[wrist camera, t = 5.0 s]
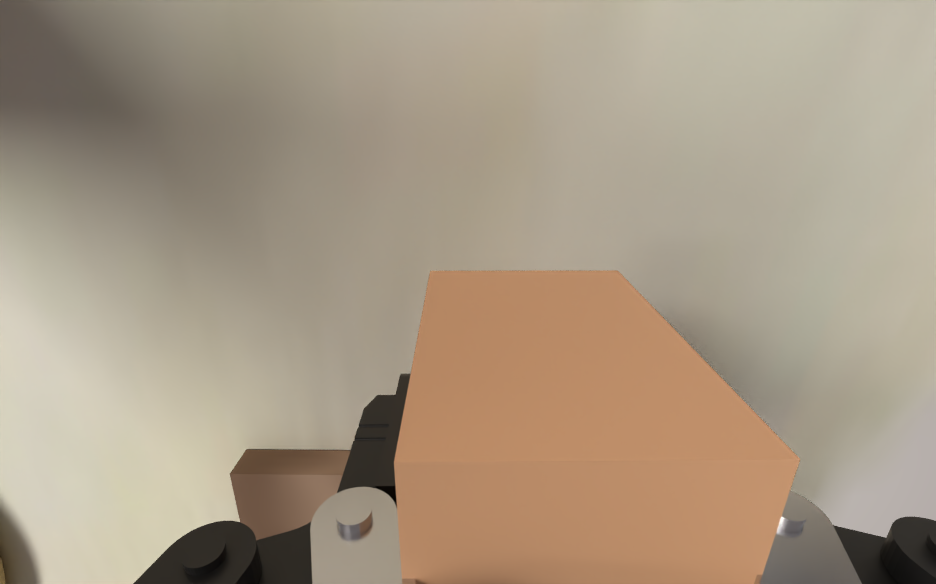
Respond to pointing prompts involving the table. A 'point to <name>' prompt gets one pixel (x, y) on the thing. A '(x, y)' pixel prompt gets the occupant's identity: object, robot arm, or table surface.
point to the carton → (576, 442)
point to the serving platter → (2, 573)
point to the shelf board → (284, 487)
